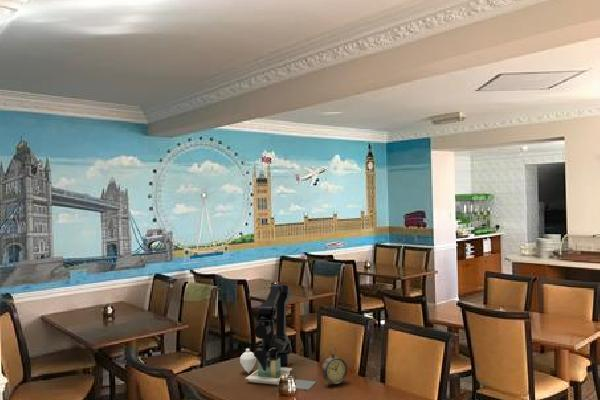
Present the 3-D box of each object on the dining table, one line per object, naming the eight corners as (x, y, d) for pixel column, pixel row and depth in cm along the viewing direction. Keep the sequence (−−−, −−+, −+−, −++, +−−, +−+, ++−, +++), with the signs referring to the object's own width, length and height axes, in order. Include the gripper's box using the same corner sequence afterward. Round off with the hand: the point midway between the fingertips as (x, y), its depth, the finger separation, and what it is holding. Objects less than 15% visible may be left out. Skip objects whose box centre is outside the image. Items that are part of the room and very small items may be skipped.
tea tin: (263, 375, 229) (262, 356, 230) (280, 377, 226) (280, 357, 226) (258, 379, 225) (257, 359, 225) (276, 381, 221) (275, 360, 222)
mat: (295, 380, 223) (295, 379, 223) (316, 382, 219) (316, 381, 219) (286, 388, 214) (286, 387, 214) (308, 390, 210) (308, 389, 210)
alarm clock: (326, 389, 211) (325, 350, 212) (320, 385, 216) (319, 347, 216) (348, 384, 216) (347, 346, 217) (341, 380, 221) (340, 344, 221)
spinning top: (237, 375, 234) (236, 349, 234) (249, 370, 239) (248, 345, 239) (247, 378, 228) (246, 352, 229) (260, 374, 234) (259, 348, 234)
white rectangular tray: (263, 372, 236) (263, 365, 237) (292, 374, 231) (292, 368, 231) (245, 385, 220) (245, 378, 220) (276, 388, 214) (276, 381, 214)
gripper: (275, 339, 214) (277, 375, 214) (292, 329, 232) (293, 362, 231) (252, 337, 218) (253, 373, 218) (270, 327, 236) (271, 360, 235)
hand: (269, 367), depth 226 cm, fingers open, 9 cm apart
